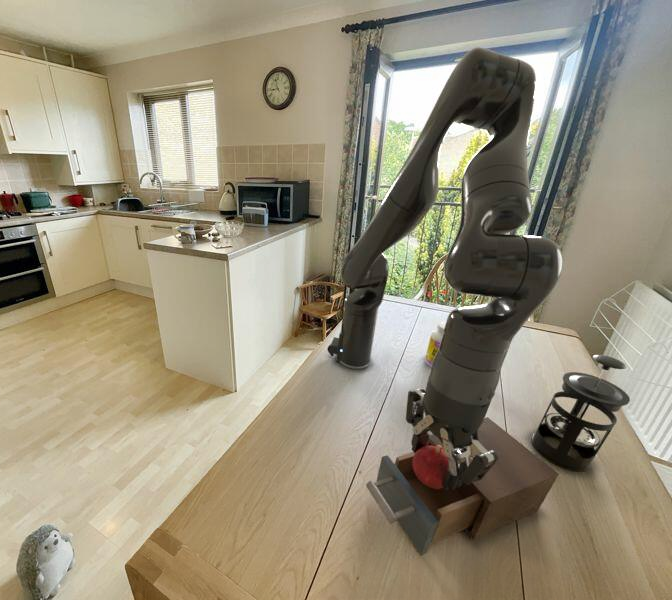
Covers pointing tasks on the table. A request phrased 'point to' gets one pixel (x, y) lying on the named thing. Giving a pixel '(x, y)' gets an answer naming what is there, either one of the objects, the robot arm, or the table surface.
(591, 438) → the french press
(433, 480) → the red round piece
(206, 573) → the table surface
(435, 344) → the supplement bottle
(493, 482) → the cabinet
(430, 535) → the drawer
